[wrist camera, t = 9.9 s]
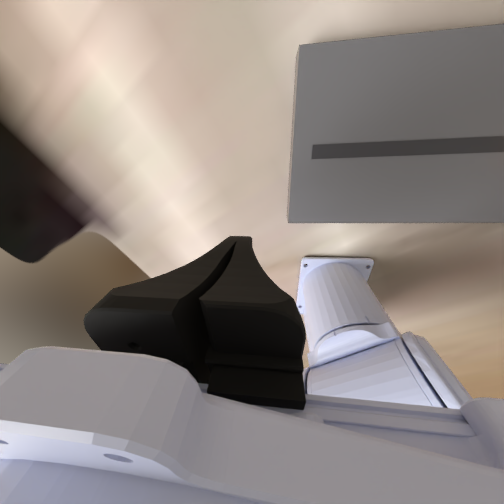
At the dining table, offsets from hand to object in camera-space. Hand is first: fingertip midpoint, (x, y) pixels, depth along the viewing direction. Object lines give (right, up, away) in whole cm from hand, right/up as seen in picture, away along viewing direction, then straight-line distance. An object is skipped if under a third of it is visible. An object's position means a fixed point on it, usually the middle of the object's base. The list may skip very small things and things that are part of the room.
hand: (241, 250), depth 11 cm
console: (+17, +9, +4) cm, 20 cm away
